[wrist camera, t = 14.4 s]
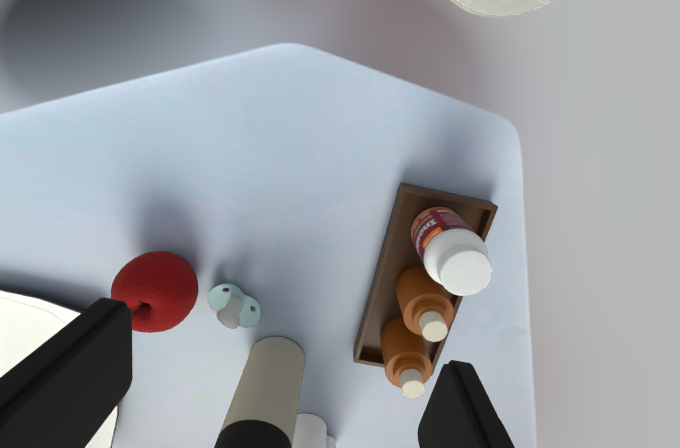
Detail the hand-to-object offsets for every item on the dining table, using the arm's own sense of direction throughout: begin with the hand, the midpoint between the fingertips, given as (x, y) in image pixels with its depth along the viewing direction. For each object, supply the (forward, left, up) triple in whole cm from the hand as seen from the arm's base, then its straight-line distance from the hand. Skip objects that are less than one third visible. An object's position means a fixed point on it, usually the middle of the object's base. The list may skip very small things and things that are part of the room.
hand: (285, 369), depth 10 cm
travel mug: (+28, -2, -31) cm, 41 cm away
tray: (+12, +14, -30) cm, 35 cm away
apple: (+17, -17, -31) cm, 39 cm away
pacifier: (+20, -9, -31) cm, 38 cm away
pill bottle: (+4, +14, -30) cm, 33 cm away
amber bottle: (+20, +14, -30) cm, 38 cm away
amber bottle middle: (+12, +14, -30) cm, 35 cm away
